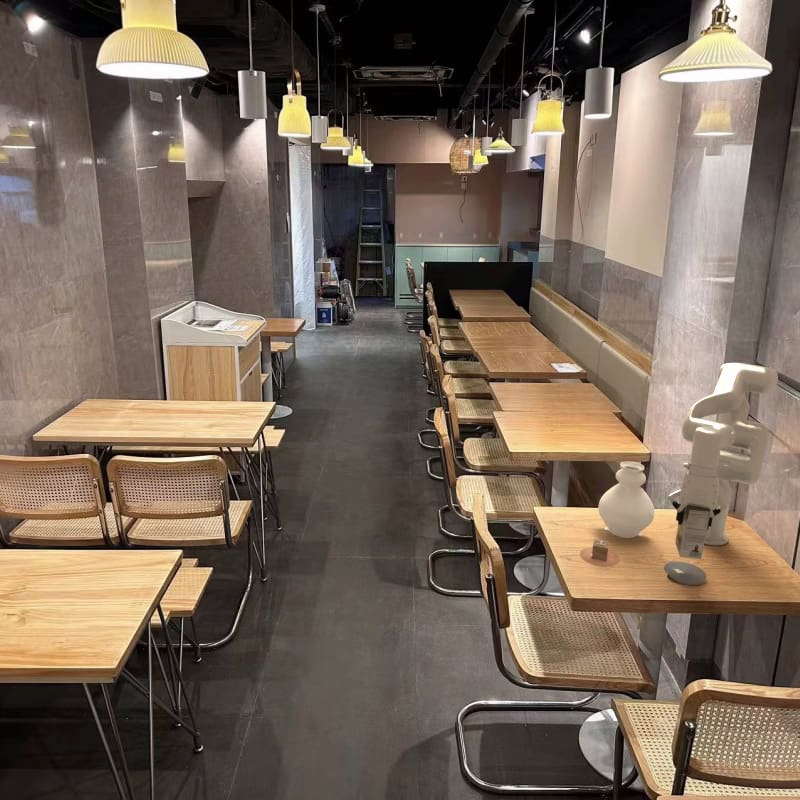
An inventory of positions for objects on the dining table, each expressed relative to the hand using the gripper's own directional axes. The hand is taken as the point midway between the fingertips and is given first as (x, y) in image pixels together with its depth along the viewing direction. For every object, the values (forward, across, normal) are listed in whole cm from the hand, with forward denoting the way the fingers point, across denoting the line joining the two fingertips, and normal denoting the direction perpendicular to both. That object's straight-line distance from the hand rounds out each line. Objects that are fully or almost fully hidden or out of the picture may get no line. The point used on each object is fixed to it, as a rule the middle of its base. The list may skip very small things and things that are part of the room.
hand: (692, 525), depth 205 cm
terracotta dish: (+17, -25, -1) cm, 30 cm away
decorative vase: (+17, -19, +20) cm, 32 cm away
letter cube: (+16, -25, -1) cm, 29 cm away
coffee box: (+9, 0, 0) cm, 9 cm away
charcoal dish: (+17, 0, 0) cm, 17 cm away
